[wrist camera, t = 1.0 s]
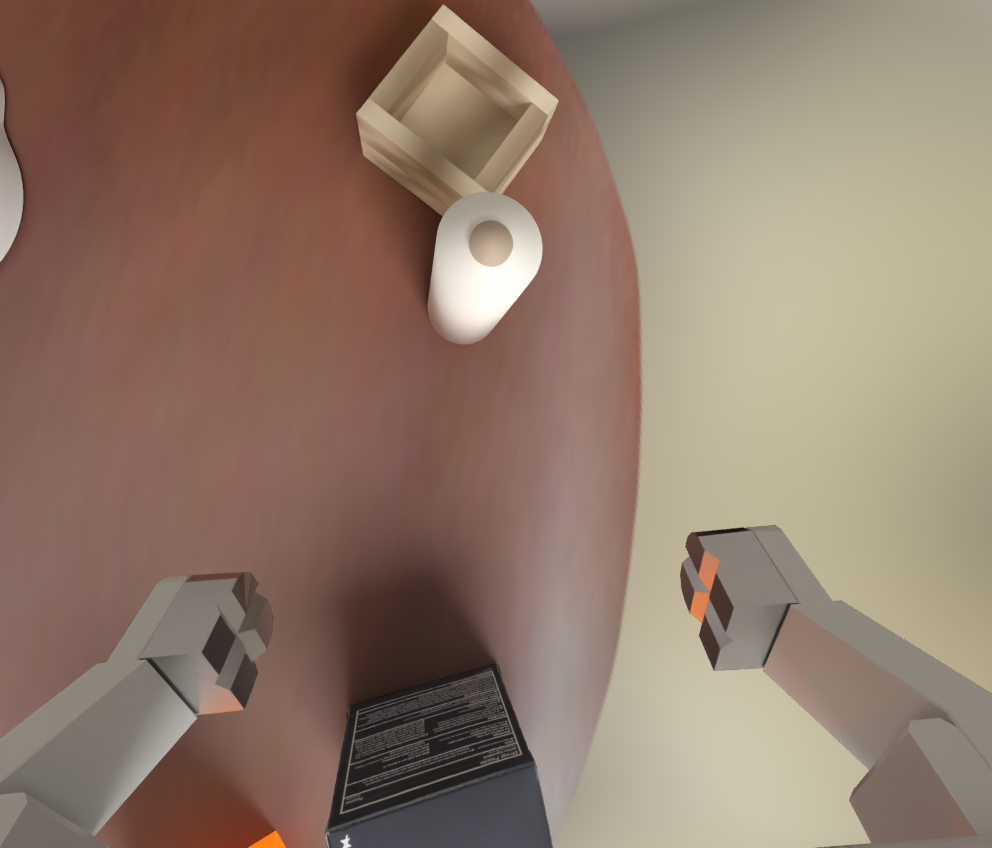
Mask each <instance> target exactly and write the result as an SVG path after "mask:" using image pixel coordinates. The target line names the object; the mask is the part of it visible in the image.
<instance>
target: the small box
mask: <svg viewBox="0 0 992 848" xmlns="http://www.w3.org/2000/svg"><path fill="white" fill-rule="evenodd" d="M325 839H326V843H327V846H328V848H553V846H552V841H551V836H550V830H549V825H548V820H547V816H546V811H545V806H544V801H543V796H542V791H541V786H540V781H539V777H538V772H537V767H536V763H535V761H534V759H533V757H532V754H531V752H530V751H529V750H528V747H527V744H526V741H525V740H524V737H523V734H522V731H521V728H520V727H519V723H518V720H517V717H516V714H515V712H514V710H513V707H512V704H511V702H510V700H509V697H508V694H507V691H506V688H505V686H504V683H503V681H502V678H501V674H500V669H499V666H498V665H496V664H494V665H491V666H487V667H483V668H480V669H476V670H473V671H470V672H466V673H463V674H459V675H456V676H452V677H449V678H446V679H442V680H439V681H435V682H432V683H428V684H425V685H422V686H418V687H415V688H411V689H408V690H404V691H401V692H397V693H394V694H391V695H387V696H384V697H380V698H377V699H374V700H370V701H367V702H364V703H361V704H357V705H353V706H351V707H350V709H349V710H348V712H347V725H346V731H345V736H344V741H343V746H342V751H341V757H340V762H339V768H338V773H337V779H336V784H335V789H334V795H333V801H332V806H331V812H330V817H329V820H328V823H327V827H326V830H325Z"/></svg>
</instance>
